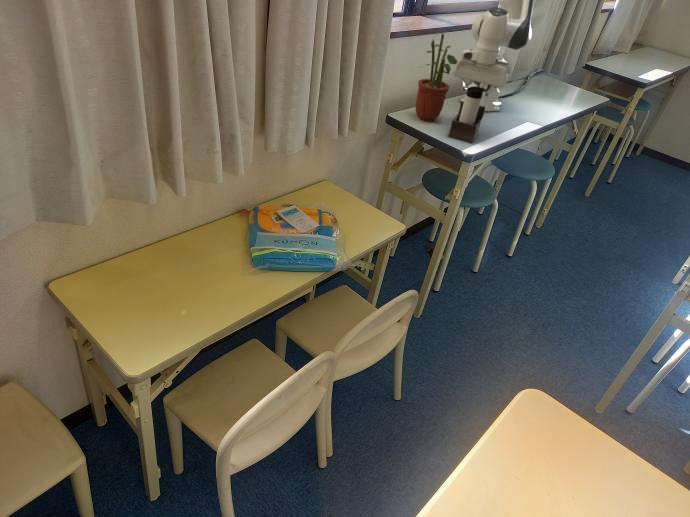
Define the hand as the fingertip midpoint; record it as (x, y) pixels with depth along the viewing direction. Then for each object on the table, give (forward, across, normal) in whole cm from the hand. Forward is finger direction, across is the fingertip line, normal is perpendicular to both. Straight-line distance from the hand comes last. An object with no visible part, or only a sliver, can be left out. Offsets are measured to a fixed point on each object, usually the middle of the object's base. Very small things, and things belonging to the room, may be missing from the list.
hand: (475, 93), depth 191 cm
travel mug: (+18, 0, 0) cm, 18 cm away
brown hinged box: (+18, 0, 0) cm, 18 cm away
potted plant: (+18, +20, -10) cm, 29 cm away
